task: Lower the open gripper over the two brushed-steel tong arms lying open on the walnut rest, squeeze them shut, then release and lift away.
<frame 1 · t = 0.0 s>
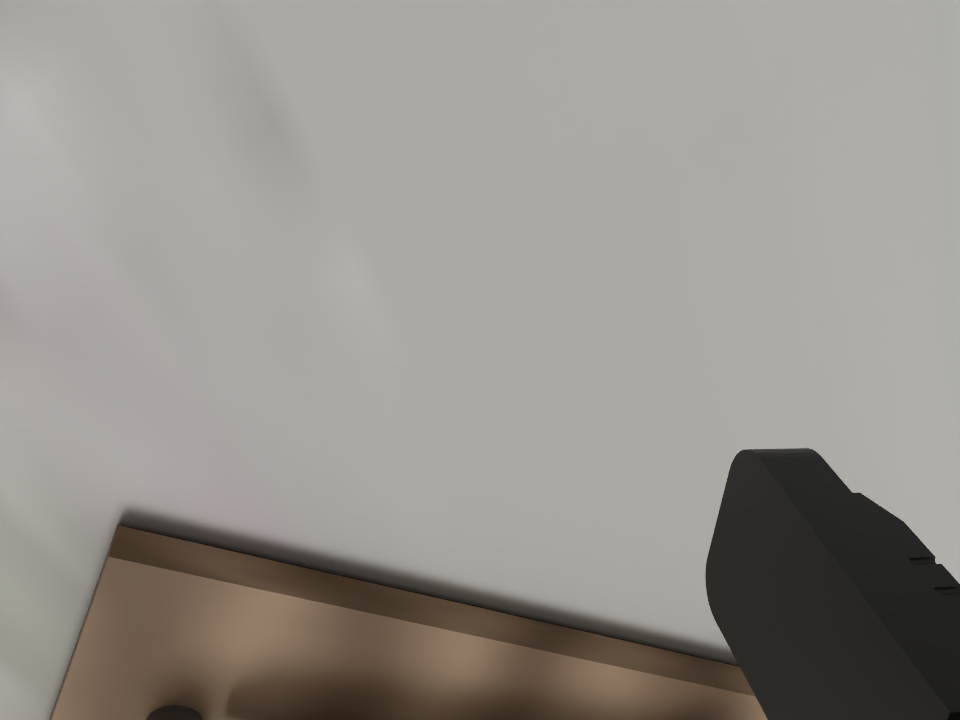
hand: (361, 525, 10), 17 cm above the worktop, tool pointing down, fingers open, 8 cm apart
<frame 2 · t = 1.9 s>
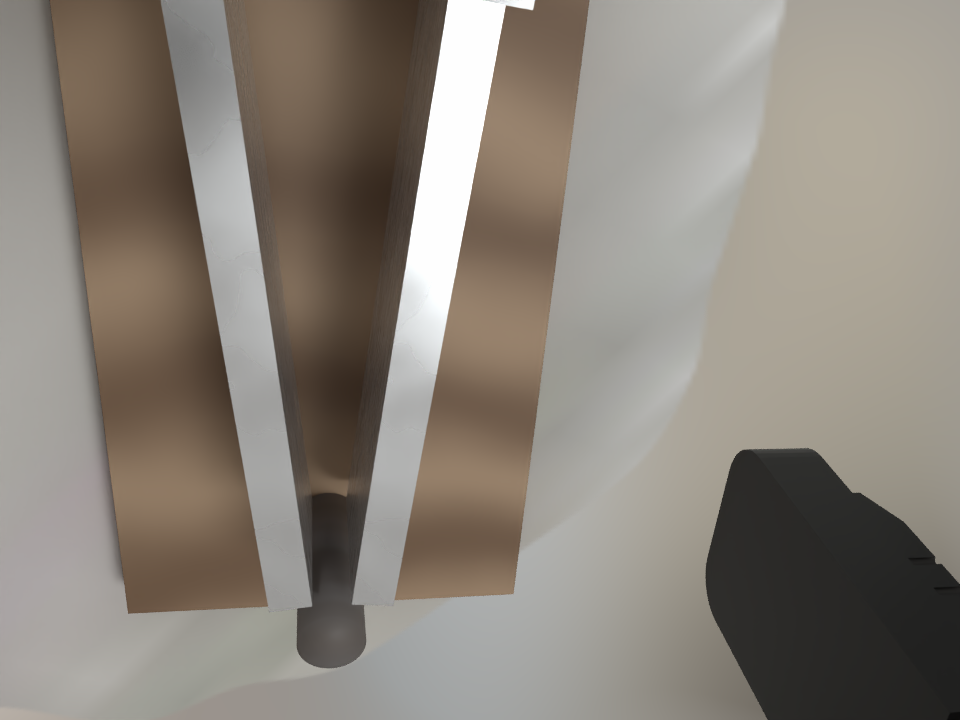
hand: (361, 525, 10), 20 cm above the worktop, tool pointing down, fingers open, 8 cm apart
tong rest: (329, 198, 28), on the worktop
tong arm 1: (427, 258, 24), point 5 cm above the worktop, hinge at -6.0°
tong arm 2: (234, 255, 23), point 5 cm above the worktop, hinge at 6.0°
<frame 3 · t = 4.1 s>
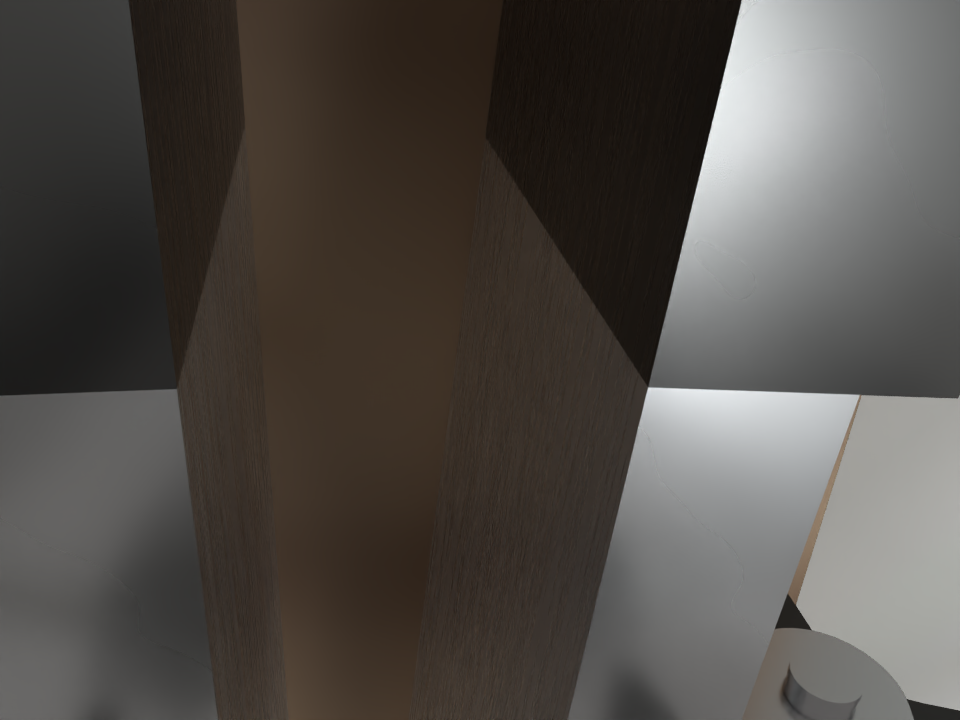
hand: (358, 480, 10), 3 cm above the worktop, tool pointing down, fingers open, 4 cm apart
tong rest: (339, 540, 14), on the worktop
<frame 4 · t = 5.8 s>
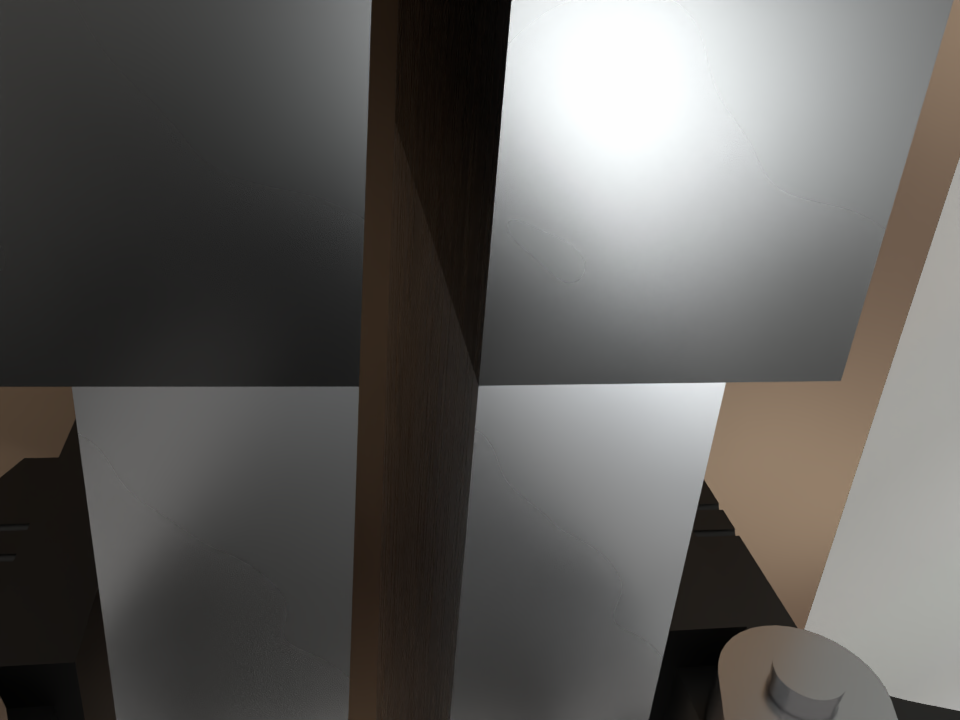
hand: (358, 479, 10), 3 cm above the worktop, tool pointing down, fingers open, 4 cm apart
tong rest: (345, 543, 14), on the worktop
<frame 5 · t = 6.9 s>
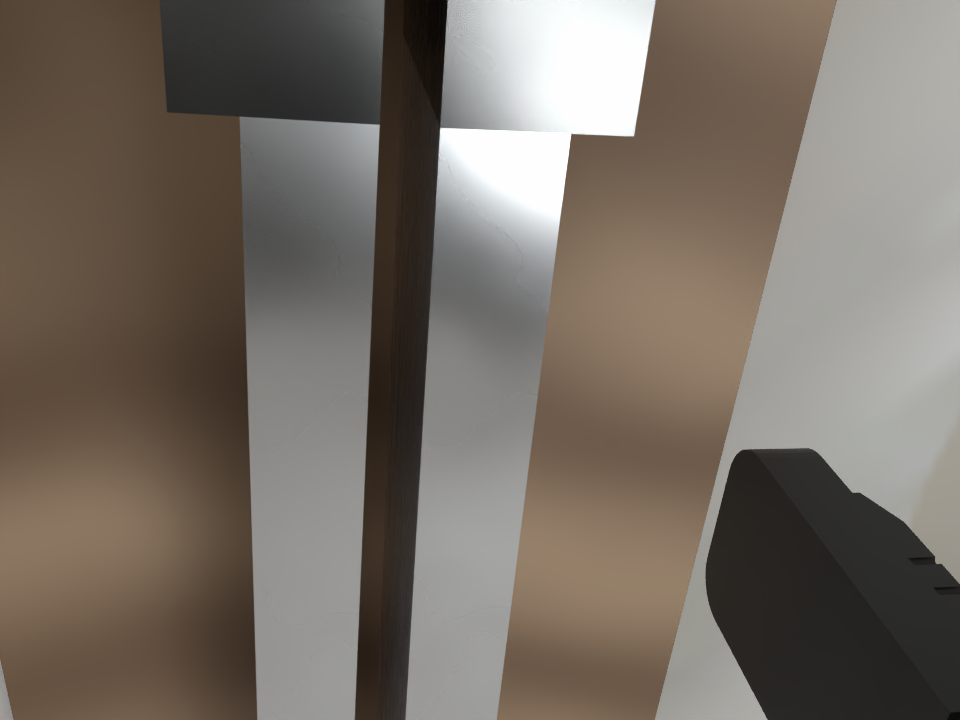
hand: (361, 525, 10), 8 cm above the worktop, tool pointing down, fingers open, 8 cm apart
tong rest: (363, 385, 18), on the worktop
tong arm 1: (456, 538, 14), point 5 cm above the worktop, hinge at 0.4°
tong arm 2: (289, 542, 13), point 5 cm above the worktop, hinge at -0.4°
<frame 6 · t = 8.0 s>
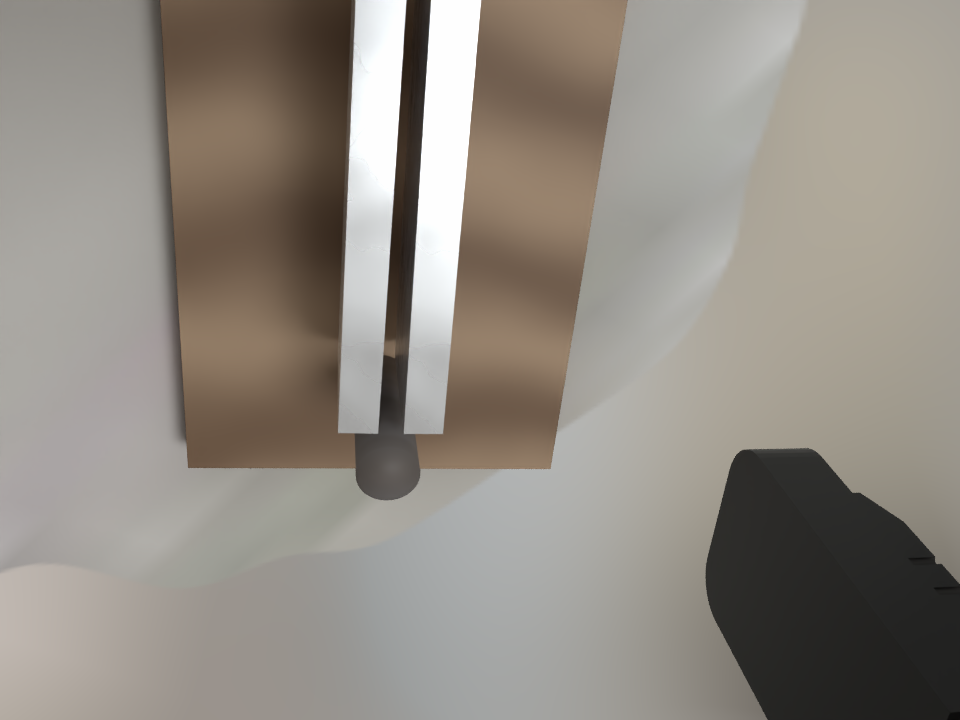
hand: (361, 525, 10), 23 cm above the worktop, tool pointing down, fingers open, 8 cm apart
tong rest: (394, 63, 30), on the worktop
tong arm 1: (448, 91, 26), point 5 cm above the worktop, hinge at 0.4°
tong arm 2: (361, 85, 25), point 5 cm above the worktop, hinge at -0.4°
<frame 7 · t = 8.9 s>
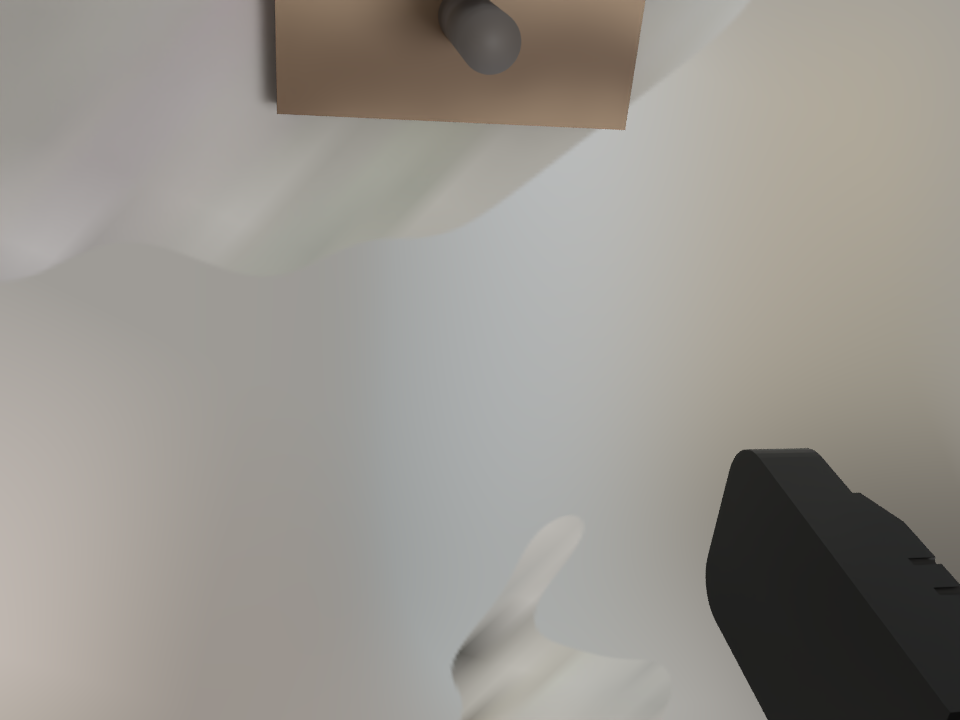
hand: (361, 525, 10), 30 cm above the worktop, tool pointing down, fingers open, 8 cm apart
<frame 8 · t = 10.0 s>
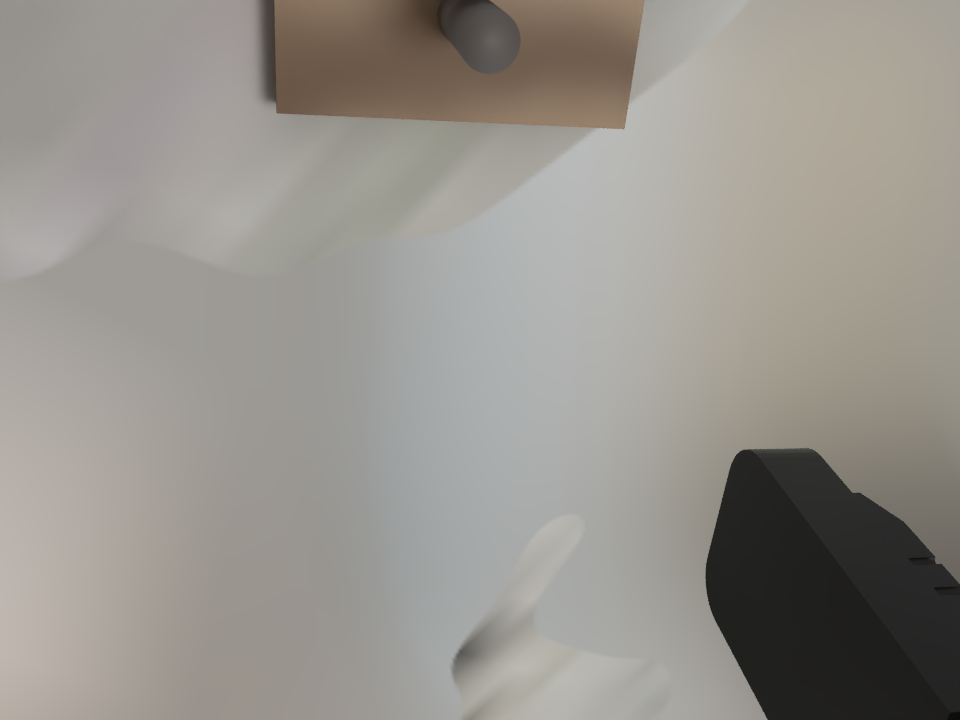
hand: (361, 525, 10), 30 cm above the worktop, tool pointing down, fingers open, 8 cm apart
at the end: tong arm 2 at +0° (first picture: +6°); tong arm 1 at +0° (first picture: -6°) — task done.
